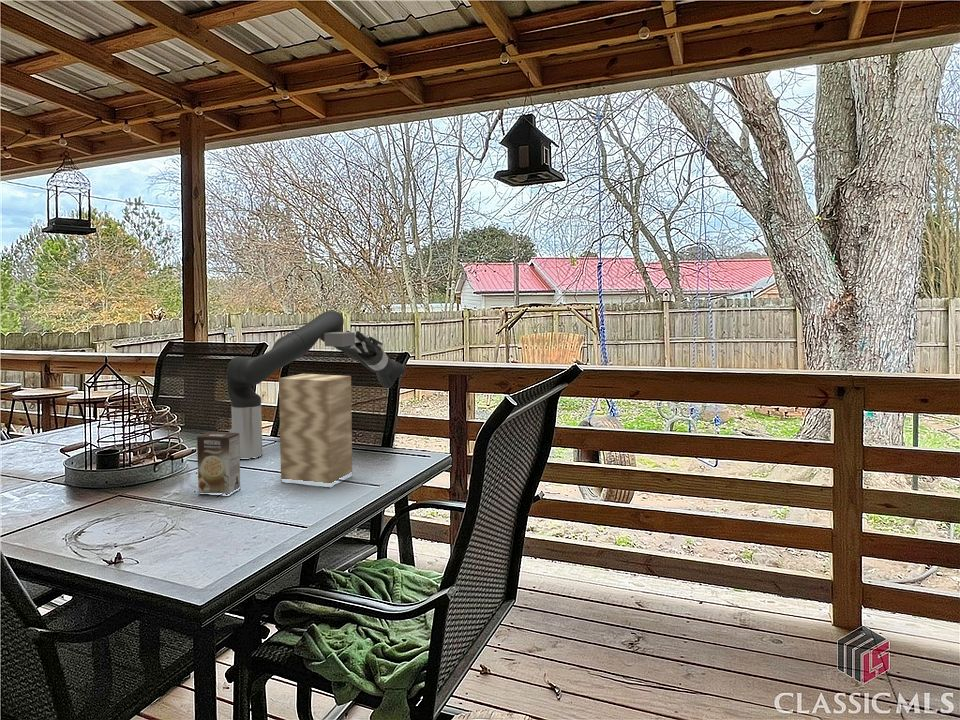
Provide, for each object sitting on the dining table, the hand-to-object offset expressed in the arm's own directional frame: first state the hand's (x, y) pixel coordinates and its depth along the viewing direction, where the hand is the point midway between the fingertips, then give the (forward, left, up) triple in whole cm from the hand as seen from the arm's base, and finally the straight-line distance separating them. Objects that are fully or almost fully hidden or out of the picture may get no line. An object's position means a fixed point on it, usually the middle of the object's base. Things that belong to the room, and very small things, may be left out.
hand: (351, 333), depth 196 cm
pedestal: (+2, -25, -41) cm, 48 cm away
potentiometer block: (0, -2, -3) cm, 4 cm away
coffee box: (-16, -44, -42) cm, 62 cm away
